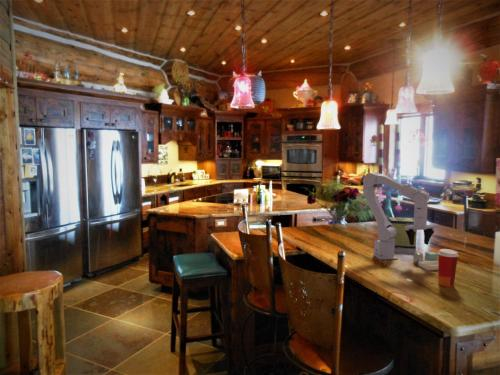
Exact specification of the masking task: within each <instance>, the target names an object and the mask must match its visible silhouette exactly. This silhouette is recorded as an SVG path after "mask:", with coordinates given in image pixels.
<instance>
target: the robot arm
mask: <svg viewBox="0 0 500 375" xmlns="http://www.w3.org/2000/svg"><path fill="white" fill-rule="evenodd" d="M361 181H362V184H363V185H362V193H363V196H364V198H365V200H366V202H367V204H368V206H369V209H370V210H371V213H372V215H373V217H374V219H375V221H376V224H377V226H376V229H377V234H378V237H379V239H378V240H375V241H374V245H373V246H374V247H373V254H372V255H373V257H375V258H377V259H378V260H398V259H399V258H398V257H396V256H395V239H394V237H395V236H396V235H397V230H396V228H395V227H393V226H392V224H391V222H389V221H388V220H387V218H386V217H387V215H386V213H385V211H384V209H383V208H382V205H381V203H380V200H379V199H378V197H377V195H376V190H377V187H378V186H379V185H386V186H388V187H390V188H393V189H395V190H398V192H399V195H402V196H403V197H406V198H408V199H410V200H411V201H413V203H414V208H413V209H414V210H413V218H414V225H408V226H405V231H406V233H407V235H408V238H409V242H410V245H414V237H415V234H416V232H414V231H413V230H417V231H419V230H420V231H421V230H422V231H423V244H424V245H425V246H426V245H427V246H428V245H429V242H430V240H431V238H432V236H433V235H434V233H435V229H436V225H435V224H434V225H433V224H428V209H429V208H428V202H429V200H430V194H429V193H428V192H427V191H425V190H421V188H416V187H415V186H412V184H411V183H404V184H402V183H400V182H398V181H396V180H395V179H393V178H391V177H389V176H387V175H385V174H382V173H380V172H369V173H366V174H365V175H364V177H363V179H362V180H361Z"/></svg>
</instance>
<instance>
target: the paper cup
mask: <svg viewBox="0 0 500 375" xmlns="http://www.w3.org/2000/svg"><path fill="white" fill-rule="evenodd" d="M458 253H459V252H458V251H457V250H453V249H449V248H448V249H447V248H440V249H439V250H438V252H437V254H438V270H437V272H438V275H437V276H438V284H439V285H440V286H442V287H446V288H452V287H454V285H455V279H456V278H455V277H456V272H457V264H458V263H457V262H458V258H459V257H460V256H459V255H460V254H458Z"/></svg>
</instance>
